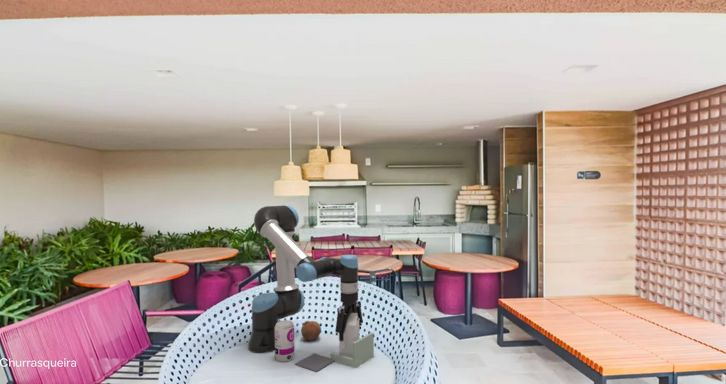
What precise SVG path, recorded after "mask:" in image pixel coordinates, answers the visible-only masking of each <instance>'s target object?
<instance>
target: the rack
mask: <svg viewBox="0 0 726 384" xmlns="http://www.w3.org/2000/svg"><path fill="white" fill-rule="evenodd" d="M374 337H375V336H374V332H369V333H368V334H366V335H364V336H361V337H359V339H358V340H357V341H355V342H353V358H350V357H346V356H343V355H340V354H339V353H335V352H331V353H330V358H331V359H332V360H335V362H334V363H337V364H342V365H345V366H347V367H350V368H353V369H357V368H358V367H359V366H361V365H363V364H364V363H366V362H367V361H369V360H370V359H372V358H373V357H375V351H374V349H375V348H374V345H375V343H374V341H375V340H374V339H375V338H374Z"/></svg>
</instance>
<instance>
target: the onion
mask: <svg viewBox="0 0 726 384" xmlns="http://www.w3.org/2000/svg"><path fill="white" fill-rule="evenodd" d="M321 333H322V328H321V325H320V323H319V322H317V321H315V320H306V321H304V323H303V325H302V326H301V336H302V338H303V339H304V340H306V341H316V340H317V339H318V338H319V336H320V334H321Z"/></svg>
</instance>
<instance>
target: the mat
mask: <svg viewBox="0 0 726 384" xmlns="http://www.w3.org/2000/svg"><path fill="white" fill-rule="evenodd" d="M333 363H336V362H335V360H332V359H331V357H328V356H324V355H322V354H318V353H311V354H310V355H308V356H306V357H305V358H302V359H301V360H299V361H296V362H295V363H294V365H296V366H298V367H300V368H304V369H306V370H309V371H312V372H315V373H318V372H320V371H321V370H323V369H324V368H326V367H328V366H330V365H332V364H333Z"/></svg>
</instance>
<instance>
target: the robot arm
mask: <svg viewBox="0 0 726 384" xmlns="http://www.w3.org/2000/svg"><path fill="white" fill-rule="evenodd" d="M253 219H254V220H253V225H254V227H255V230H256V231H257V232H258V234H259V235H260V236H262V238H266V239H267V240H268V241H269V242H271V244H272V245H273V246H274V250H275V265H276V266H275V267H276V268H275V269H276V283H277V286H276V287H275V288H274V292H267V293H266V292H265V293H260V294H258V295H257V296H255V297H254V298H253V299H252V302H251V322H252V323H251V334H250V338H249V340H248V345H247V346H248V350H249V351H250V352H251V353H252V352H253V353H258V354H259V353H261V354H263V353H270V352H273V351H274V352H275V326H276V323H277V322H279V320H282V319H284V318H288V317H290V316H294V315H296V314H298V313H300V312H301V311H302V310H303V309H304V305H305V296H304V295H305V294H303V291H302V290H300V289H299V285H297V284H296V276H297V279H298V280H299V281H300V282H303V283H306V282H307V283H308V282H312V281H315V280H318V279H323V278H327V277H332V276H335V277H339V278H340V281H339V282H340V284H339V285H340V302H341V303H342V304H341V307H337V309H336V311H337V314H336V315H337V316H336V321H335V322H336V323H335V331H334V332H335V333H337V334H338V341H340V348H343V349H346V333H345V332H344V331H345V328H346V324H347V320H348V317H349V316H350V314H351V313H358V318H359V332H360V330H361V329H360V326H362V325H363V315H362V306H361V304H362V301H359V292H358V291H359V277H358V275H359V261H358V260H359V259H358V256H357V255H354V254H342V255H341V256H340V258H336V257H331V256H323V257H321V258H320V259H319V260H314V259H313V258H312V257H311V256H310V255H308V253H307V252H306V251H305V250H304V249H303V248H302V247H301V246H300V245H299V244H298V243H297V242H296V241H295V240H294V239H293V234H295V231H296V230H295V229H296V227H297V226H298V224H299V222H300V218H299V214H298V212H297V210H296V209H295V208H294V207H293V206H291V205H284V204H282V205H271V206H270V205H268V206H266V205H265V206H263V207H261V208H259V209H258V210H257V211H256V213H255V215H254V217H253ZM295 272H296V273H295ZM295 274H296V275H295ZM344 313H345V314H344Z"/></svg>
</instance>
